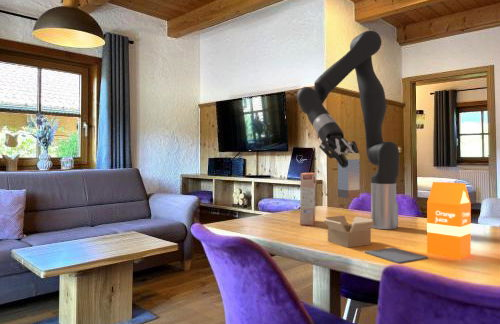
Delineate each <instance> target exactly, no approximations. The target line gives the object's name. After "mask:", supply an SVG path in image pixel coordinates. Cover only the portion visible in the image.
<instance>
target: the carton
mask: <svg viewBox="0 0 500 324" xmlns="http://www.w3.org/2000/svg"><path fill="white" fill-rule="evenodd" d="M323 221H324V223H325V224H326V226H327V242H328V241H329V243H332V244H335V245H338V246H342V247H345V248H347V247H348V248H355V246H356V247H362V245H363V246H370V245H371V244H372V243H371V242H372V241H371V240H372V239H371V237H372V234H371V233H372V231H371V228H373V227H372V225H373V223H374V220H372V219H371V218H366V217H362V216H361V217H360V216H355V217H354V218H353V220H352V222H351V224H350V225H349V223H348V222H347V219H346V216H345V215H338V216H337V215H336V216H326V217H325V218H324V219H323Z"/></svg>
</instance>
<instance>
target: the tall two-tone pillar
mask: <svg viewBox="0 0 500 324" xmlns="http://www.w3.org/2000/svg"><path fill="white" fill-rule="evenodd" d="M341 155H342V156H343V157H344V159H345V160H346V162H347V165H346V166H345V168H342V166H340V164H339V163H338V162H337V198H343V199H357V198H360V197H361V196H360V194H361V193H360V188H361V187H360V186H361V185H360V184H361V183H360V180H361V179H360V175H361V173H360V172H361V170H360V164H361V161H360V158H361V157H360V152H359V153H350V152H349V153H341Z"/></svg>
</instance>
